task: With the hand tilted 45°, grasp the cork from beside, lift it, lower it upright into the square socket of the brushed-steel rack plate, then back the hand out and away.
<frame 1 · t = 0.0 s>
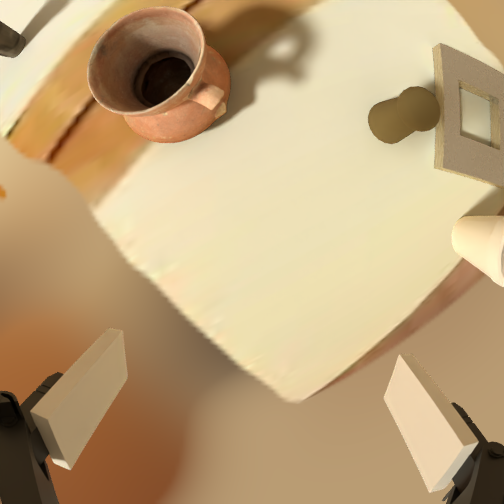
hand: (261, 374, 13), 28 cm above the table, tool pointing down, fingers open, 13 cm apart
beverage cup: (17, 47, 34), on the table
ceramic jug: (175, 92, 37), on the table
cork: (387, 122, 36), on the table
foam cup: (465, 235, 39), on the table
rack plate: (472, 117, 35), on the table
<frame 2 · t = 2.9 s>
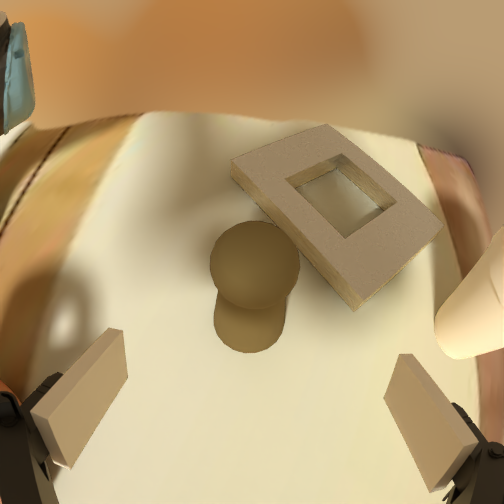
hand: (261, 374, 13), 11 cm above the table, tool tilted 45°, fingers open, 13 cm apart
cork: (249, 319, 26), on the table
foam cup: (455, 330, 26), on the table
rack plate: (337, 205, 33), on the table
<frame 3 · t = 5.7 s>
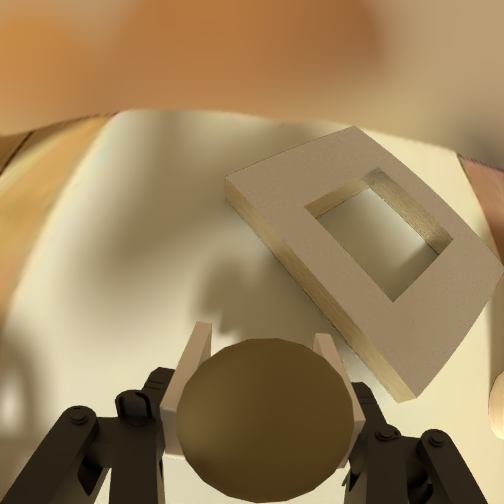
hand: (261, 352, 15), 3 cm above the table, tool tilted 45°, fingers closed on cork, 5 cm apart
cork: (251, 424, 16), on the table, touching gripper
rack plate: (375, 242, 23), on the table
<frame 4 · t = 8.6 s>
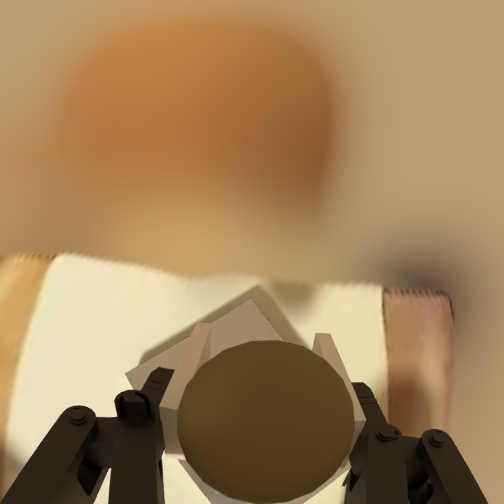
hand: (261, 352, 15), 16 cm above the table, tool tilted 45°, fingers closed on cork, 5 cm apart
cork: (252, 425, 16), point 13 cm above the table, touching gripper
rack plate: (246, 421, 27), on the table
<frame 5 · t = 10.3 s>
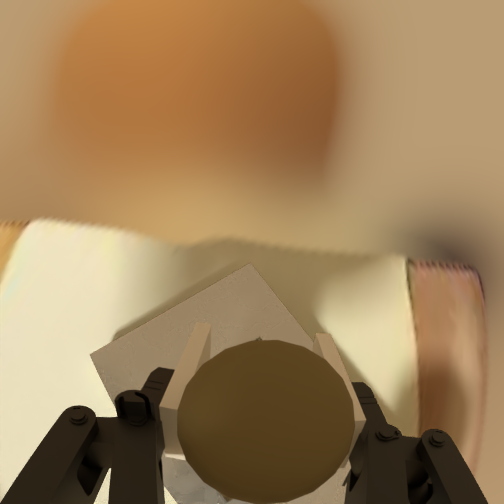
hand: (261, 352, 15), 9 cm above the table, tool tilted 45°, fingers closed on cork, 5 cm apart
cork: (252, 425, 16), point 5 cm above the table, touching gripper
rack plate: (243, 421, 21), on the table
when the fingers open (5 cm above the table, at t = 11.6 s): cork drops 2 cm, resting in rack plate.
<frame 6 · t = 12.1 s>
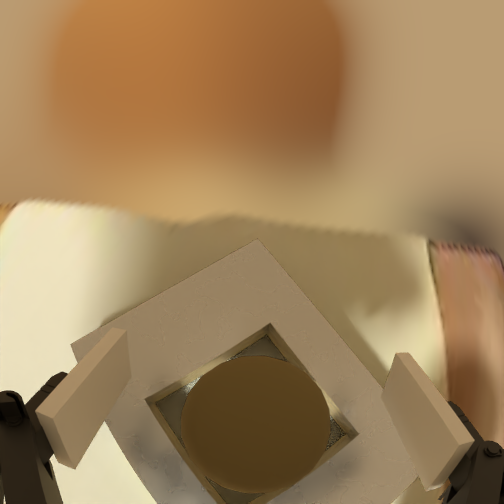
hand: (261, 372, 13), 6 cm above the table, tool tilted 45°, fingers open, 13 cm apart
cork: (248, 425, 17), resting in rack plate
rack plate: (250, 424, 17), on the table
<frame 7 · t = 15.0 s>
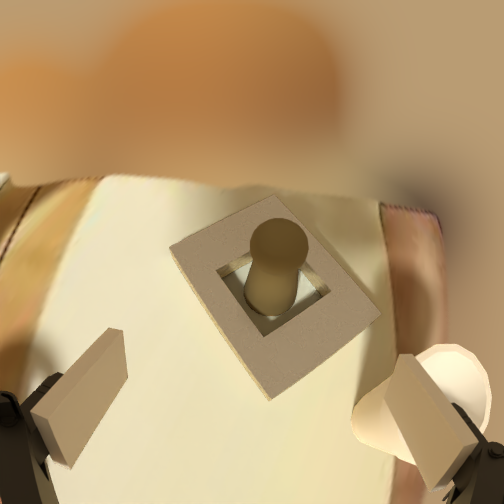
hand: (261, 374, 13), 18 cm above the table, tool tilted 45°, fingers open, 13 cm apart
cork: (270, 292, 35), resting in rack plate
foam cup: (377, 418, 27), on the table
rack plate: (271, 291, 35), on the table
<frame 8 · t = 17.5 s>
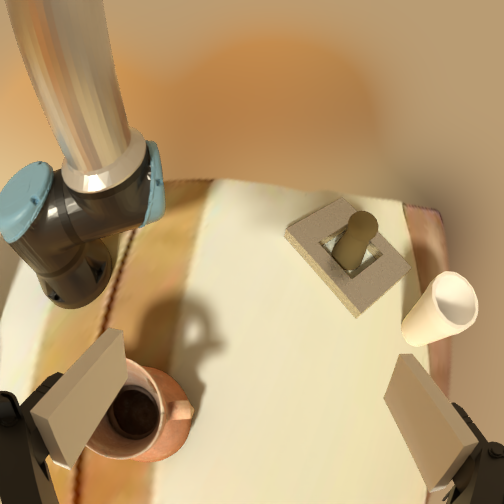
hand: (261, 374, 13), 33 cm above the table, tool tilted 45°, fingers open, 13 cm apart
ceramic jug: (143, 415, 39), on the table
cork: (346, 256, 56), resting in rack plate
foam cup: (415, 330, 48), on the table
rack plate: (347, 255, 56), on the table
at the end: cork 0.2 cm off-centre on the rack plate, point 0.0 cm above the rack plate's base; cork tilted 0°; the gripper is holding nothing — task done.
